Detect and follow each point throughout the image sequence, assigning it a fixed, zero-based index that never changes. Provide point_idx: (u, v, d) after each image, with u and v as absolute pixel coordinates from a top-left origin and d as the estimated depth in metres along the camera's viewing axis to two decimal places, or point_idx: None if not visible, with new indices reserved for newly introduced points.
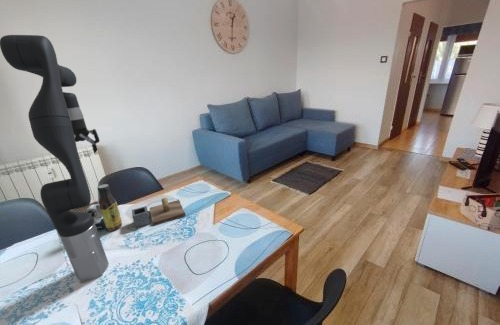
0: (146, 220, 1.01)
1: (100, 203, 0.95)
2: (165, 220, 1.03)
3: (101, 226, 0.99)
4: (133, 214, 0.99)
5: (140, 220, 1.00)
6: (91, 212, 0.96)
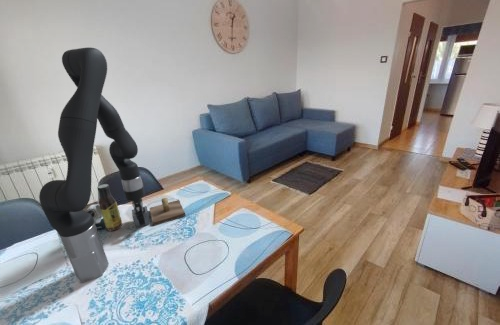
0: (146, 220, 1.01)
1: (100, 203, 0.95)
2: (165, 220, 1.03)
3: (101, 226, 0.99)
4: (133, 214, 0.99)
5: None
6: (91, 212, 0.96)
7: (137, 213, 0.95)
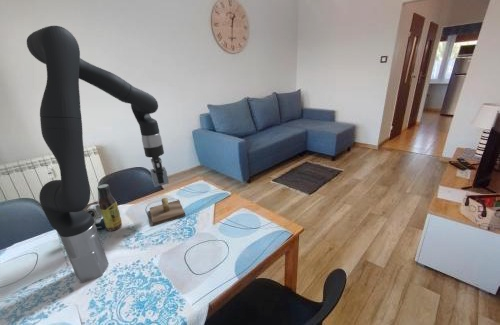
0: (165, 179, 1.01)
1: (100, 203, 0.95)
2: (165, 220, 1.03)
3: (101, 226, 0.99)
4: (152, 172, 0.99)
5: None
6: (91, 212, 0.96)
7: (157, 169, 0.95)
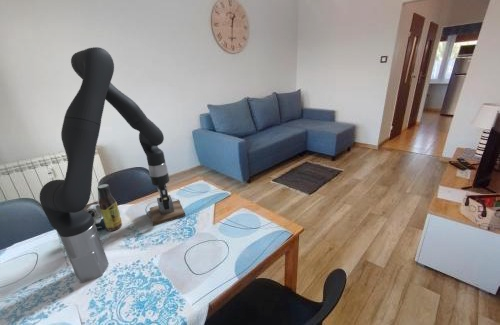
0: (171, 208, 1.07)
1: (100, 203, 0.95)
2: (165, 220, 1.03)
3: (101, 226, 0.99)
4: (159, 202, 1.05)
5: None
6: (91, 212, 0.96)
7: (163, 196, 0.99)
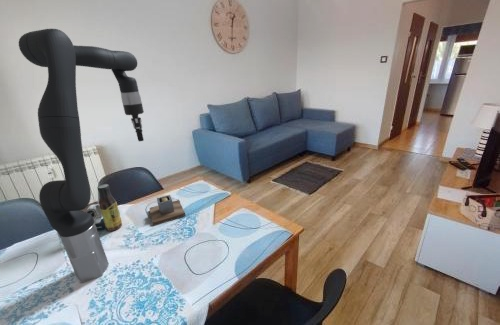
0: (171, 208, 1.07)
1: (100, 203, 0.95)
2: (165, 220, 1.03)
3: (101, 226, 0.99)
4: (159, 202, 1.05)
5: (165, 208, 1.05)
6: (91, 212, 0.96)
7: (135, 125, 0.98)
